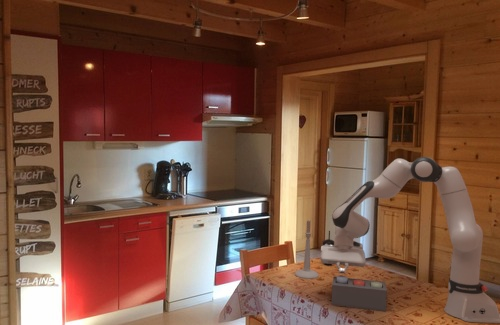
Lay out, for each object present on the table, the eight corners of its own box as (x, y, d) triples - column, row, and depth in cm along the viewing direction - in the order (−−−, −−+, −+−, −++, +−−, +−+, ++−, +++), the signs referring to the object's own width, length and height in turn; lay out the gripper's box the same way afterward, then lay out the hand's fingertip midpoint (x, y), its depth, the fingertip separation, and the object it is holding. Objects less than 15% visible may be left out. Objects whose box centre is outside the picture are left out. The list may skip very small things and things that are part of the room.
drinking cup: (330, 262, 256) (331, 229, 255) (337, 265, 249) (338, 231, 248) (319, 263, 254) (320, 229, 253) (325, 267, 247) (327, 232, 246)
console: (384, 301, 195) (384, 281, 195) (385, 311, 184) (386, 290, 183) (332, 295, 201) (333, 276, 200) (331, 304, 189) (332, 284, 189)
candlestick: (293, 271, 237) (295, 217, 236) (317, 272, 237) (319, 218, 235) (295, 278, 224) (297, 221, 223) (320, 279, 224) (322, 222, 222)
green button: (381, 290, 192) (381, 282, 192) (382, 293, 187) (382, 285, 187) (370, 288, 193) (370, 281, 193) (370, 292, 188) (371, 284, 188)
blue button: (347, 283, 195) (347, 276, 195) (347, 287, 191) (347, 279, 191) (336, 282, 197) (336, 275, 196) (336, 285, 192) (336, 278, 192)
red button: (364, 288, 194) (364, 280, 194) (364, 291, 189) (364, 283, 189) (353, 287, 195) (353, 279, 195) (353, 290, 190) (353, 282, 190)
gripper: (321, 240, 202) (318, 266, 193) (365, 244, 198) (365, 271, 189) (321, 247, 207) (318, 273, 198) (365, 251, 202) (364, 278, 193)
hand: (342, 272), depth 193 cm, fingers closed
